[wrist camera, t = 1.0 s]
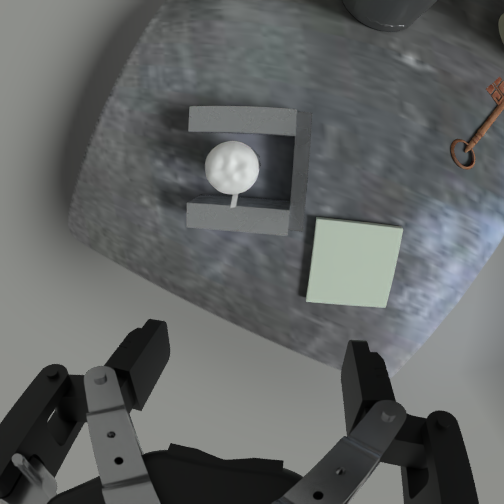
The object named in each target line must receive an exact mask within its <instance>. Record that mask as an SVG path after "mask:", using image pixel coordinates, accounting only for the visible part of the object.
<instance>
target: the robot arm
mask: <svg viewBox="0 0 504 504" xmlns="http://www.w3.org/2000/svg"><path fill="white" fill-rule="evenodd" d="M342 1H343V3H344V5H345V7H346V8H347V10H348V11H349V12H350V13H351V14H352V15H353V16H354V17H355V18H356V19H357V20H359V21H360V22H362V23H363V24H365V25H367V26H369V27H371V28H373V29H377V30H380V31H387V32H395V31H400V30H404V29H405V28H407V27H409V26H410V25H411V24H412V23H413V22H414V21H415V20H416V19H417V18H419V17H420V16H421V15H422V14H423V13H424V12H425V11H426V10H427V9H429V8H430V7H431V6H432V5H433V4H434V3H435V2H436V1H437V0H342ZM169 356H170V344H169V337H168V330H167V324H166V322H165V321H159V320H153V319H149V320H148V321H147V322H146V323H145V325H144V326H143V327H142V328H137V329H135V330H133V331H132V332H130V333H129V334H128V335H127V336H126V338H125V339H124V341H123V342H122V343H121V344H120V345H119V347H118V348H117V350H116V351H115V352H114V353H113V355H112V356H111V357H110V358H109V360H108V361H107V363H106V364H105V365H104V366H97V367H94V368H92V369H90V370H88V371H87V372H86V374H85V375H69V374H68V371H67V369H66V368H65V367H64V366H63V365H59V364H52V365H49V366H47V367H45V368H43V369H42V370H41V372H40V373H39V374H38V375H37V376H36V378H35V379H34V380H33V381H32V383H31V384H30V385H29V387H28V388H27V389H26V390H25V392H24V393H23V394H22V396H21V397H20V398H19V399H18V401H17V402H16V403H15V405H14V406H13V407H12V409H11V410H10V411H9V412H8V414H7V415H6V417H5V418H4V419H3V421H2V422H1V424H0V504H348V503H349V502H350V501H351V500H352V498H353V497H354V496H355V494H356V493H357V492H358V491H359V489H360V488H361V487H362V486H363V484H364V483H365V482H366V480H367V479H368V478H369V477H370V475H371V474H372V472H373V471H374V470H375V469H376V467H377V466H378V465H379V463H380V462H384V463H388V464H393V465H398V466H401V475H402V485H403V496H404V504H479V502H478V497H477V492H476V488H475V483H474V480H473V475H472V471H471V467H470V463H469V459H468V455H467V452H466V448H465V445H464V441H463V438H462V434H461V431H460V428H459V425H458V422H457V420H456V418H455V417H454V416H453V415H452V414H450V413H448V412H445V411H435V412H432V413H431V414H430V415H429V416H428V417H427V418H422V417H416V416H412V415H409V414H407V413H406V410H405V409H404V407H403V406H402V405H401V404H399V403H397V402H396V400H395V397H394V393H393V390H392V386H391V382H390V379H389V377H388V372H387V370H386V365H385V362H384V360H383V358H382V357H381V356H380V355H379V354H378V353H377V352H370V350H369V346H368V343H367V341H363V340H349V342H348V346H347V350H346V354H345V358H344V362H343V366H342V371H341V383H342V392H343V401H344V409H345V410H344V411H345V420H346V431H347V437H346V436H344V437H343V438H342V439H340V441H339V442H338V443H337V444H336V445H335V446H334V447H333V448H332V449H331V450H330V451H329V452H328V453H327V454H326V455H325V456H324V458H323V459H322V460H321V461H320V462H319V463H318V464H317V465H316V466H315V467H314V468H312V469H311V470H310V472H308V473H307V474H306V475H305V476H304V477H302V476H301V475H299V474H297V473H295V472H293V471H290V470H288V469H285V468H283V461H282V460H270V459H260V458H248V459H233V460H223V459H220V458H217V457H215V456H213V455H210V454H208V453H205V452H203V451H201V450H198V449H195V448H190V447H185V446H181V445H176V444H172V443H171V444H170V446H169V448H168V450H159V451H153V452H149V453H145V454H144V453H143V451H142V448H141V446H140V443H139V440H138V437H137V435H136V432H135V429H134V426H133V423H132V420H131V417H130V414H129V413H130V411H131V410H132V409H136V410H140V411H142V409H143V407H144V405H145V403H146V401H147V399H148V397H149V396H150V394H151V392H152V390H153V388H154V386H155V384H156V383H157V381H158V379H159V377H160V375H161V373H162V371H163V369H164V368H165V366H166V364H167V362H168V360H169ZM54 409H55V412H54V413H53V415H52V417H51V418H50V420H49V421H48V418H49V417H50V415H51V414H52V412H53V411H54ZM47 421H48V423H47ZM85 422H88V427H89V432H90V437H91V442H92V446H93V451H94V455H95V459H96V463H97V467H98V471H99V475H100V476H98V477H96V478H94V479H92V480H90V481H87V482H85V483H83V484H81V485H78V486H76V487H74V488H72V489H69V490H67V491H64V492H62V493H60V494H58V495H57V493H56V491H57V482H56V480H55V476H56V474H57V472H58V470H59V468H60V467H61V465H62V463H63V461H64V459H65V457H66V455H67V453H68V451H69V450H70V448H71V446H72V444H73V442H74V441H75V439H76V437H77V435H78V433H79V432H80V430H81V428H82V426H83V424H84V423H85Z"/></svg>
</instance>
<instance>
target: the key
mask: <svg viewBox="0 0 504 504" xmlns="http://www.w3.org/2000/svg"><path fill="white" fill-rule="evenodd" d="M501 80H502V79H501V78H500V77H499V78H498V79H497V80H496V81H494V83H495V84H496V85H498V84H499V83H500V81H501ZM494 83H492V84H493V85H494ZM492 84H491V85H490V86H489V88H486V90H487V91H488V92H489V94H491V93H492V92H493V90H494V89H495V88H496V89H497V90H498V88H499V90H500V91H501V92H502V93H501V92H500V91H499V90H498V92H499V93H500V94H499V93H498V92H497V90H495V92H494V93H493V94H492V98H493V99H494V101H495V102H496V103H497V105H498V106H497V107H496V109H495V110H494V111H493V113H492V114H491V115H490V116H489V118H488V119H487V120H486V121H485V123H484V124H483V125H482V126H481V128H480V129H478V131H477V133H476V134H475V136H474V137H473V138H472V139H471V141H470V142H469V143H467V142H466V141H464V140H461V139H457V140H455V141H453V143H452V145H451V154H452V157H453V159H454V161H455V162H456V164H457V165H458V166H459V167H461V168H463V169H471V168H472V167H473V166H474V164H475V154H474V151H473V149H472V148H473V147H474V145H476V144H477V142H478V140H480V139H481V137H483V136H484V134H485V132H486V131H487V130H488V129H489V127H490V126H491V125H492V123H493V122H494V121H495V119H496V118H497V117H498V116H499V114H500V113H501V112H502V110H503V109H504V96H503V95H502V94H503V93H504V88H503V87H504V81H502V83H501V84H500V85H499V87H498V88H497V87H496V86H495V85H494V86H495V88H494V87H493V85H492ZM500 95H501V96H502V98H501V99H500V97H501V96H500ZM496 98H497V99H496ZM499 99H500V101H499V102H498V101H497V100H499ZM458 142H463V143H465V144H466V145H467V146H466V148H465V153H466V152H468V151H470V150H471V153H472V162H471V164H470V165H469V166H467V167H465V166H463V165H461V164H460V163H459V162H458V160H457V159H456V157H455V153H454V147H455V145H456V143H458Z"/></svg>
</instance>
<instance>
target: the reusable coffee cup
mask: <svg viewBox="0 0 504 504" xmlns="http://www.w3.org/2000/svg"><path fill="white" fill-rule="evenodd" d="M498 27H499V33H500V37H501V39H502V42H503V44H504V13H503V14H502V15H501V16H500V18H499V23H498Z"/></svg>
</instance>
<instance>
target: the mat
mask: <svg viewBox="0 0 504 504" xmlns="http://www.w3.org/2000/svg"><path fill="white" fill-rule="evenodd" d="M402 232H403V228H402V227H401V226H393V225H385V224H377V223H369V222H360V221H351V220H342V219H333V218H323V217H316V223H315V232H314V241H313V249H312V257H311V265H310V273H309V280H308V287H307V294H306V302H316V303H328V304H340V305H354V306H368V307H383V308H386V304H387V300H388V297H389V293H390V289H391V284H392V280H393V276H394V272H395V267H396V262H397V258H398V253H399V248H400V243H401V238H402Z"/></svg>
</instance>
